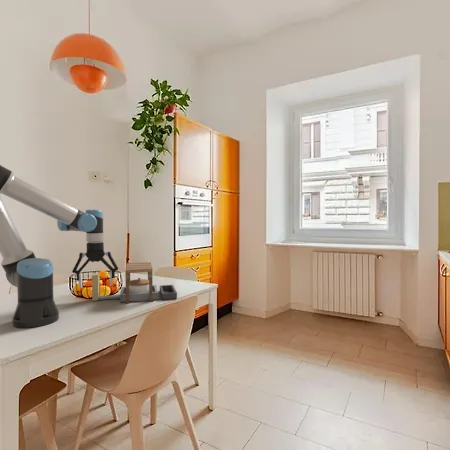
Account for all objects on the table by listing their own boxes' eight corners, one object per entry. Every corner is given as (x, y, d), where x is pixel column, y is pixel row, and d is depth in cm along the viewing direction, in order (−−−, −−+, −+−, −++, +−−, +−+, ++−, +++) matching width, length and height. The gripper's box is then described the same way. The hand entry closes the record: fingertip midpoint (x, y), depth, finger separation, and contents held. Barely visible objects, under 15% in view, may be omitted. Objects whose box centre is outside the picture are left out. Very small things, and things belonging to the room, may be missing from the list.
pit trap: (176, 298, 150) (176, 292, 150) (162, 299, 148) (162, 293, 148) (172, 290, 168) (172, 284, 167) (159, 291, 166) (159, 285, 166)
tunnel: (152, 301, 146) (152, 268, 145) (125, 303, 142) (125, 269, 142) (150, 291, 166) (150, 262, 165) (127, 292, 163) (127, 263, 162)
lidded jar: (124, 296, 155) (124, 277, 154) (144, 293, 162) (144, 275, 161) (133, 301, 147) (133, 281, 146) (154, 297, 154) (154, 278, 153)
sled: (158, 299, 149) (158, 274, 148) (90, 304, 141) (90, 277, 140) (156, 291, 164) (156, 268, 164) (95, 295, 156) (95, 271, 156)
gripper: (123, 240, 155) (123, 282, 156) (68, 242, 148) (69, 286, 149) (122, 241, 148) (123, 286, 148) (64, 243, 141) (65, 290, 142)
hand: (96, 286), depth 149 cm, fingers open, 13 cm apart
